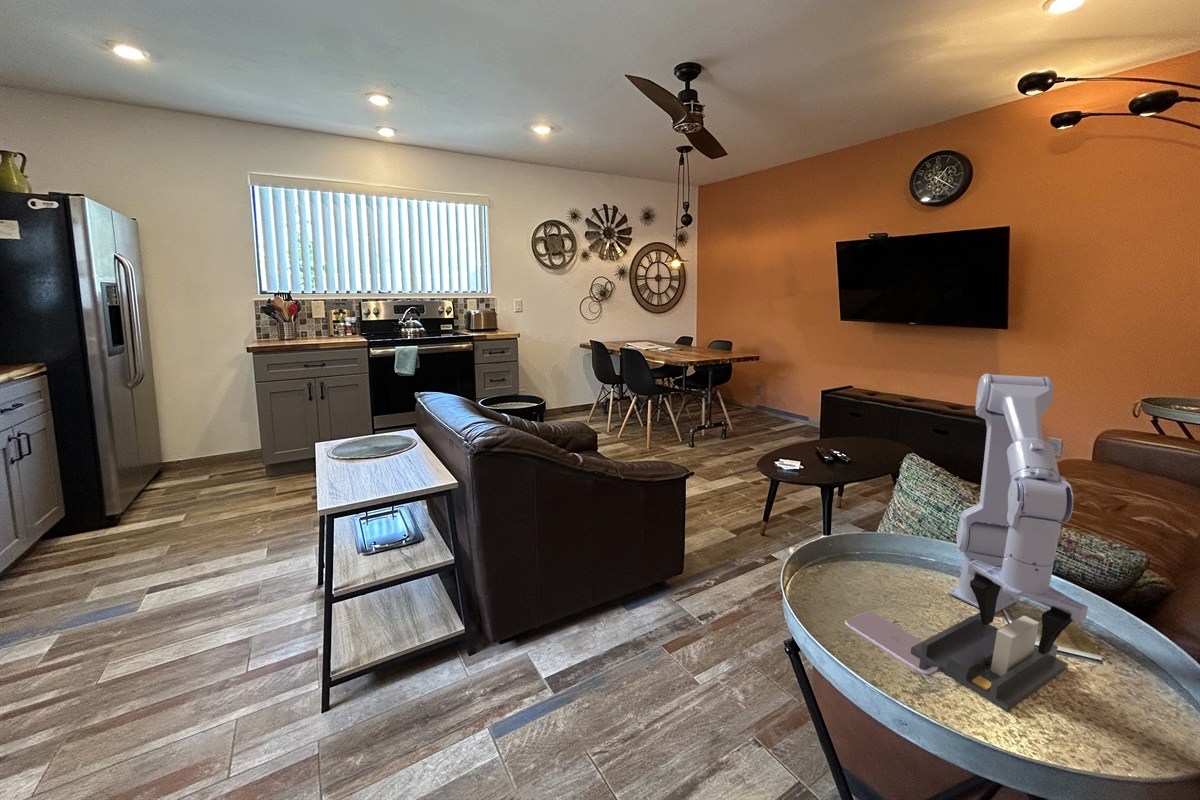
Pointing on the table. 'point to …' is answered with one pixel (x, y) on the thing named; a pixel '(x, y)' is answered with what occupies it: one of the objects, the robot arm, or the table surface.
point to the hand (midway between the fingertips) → (1014, 636)
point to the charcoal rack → (987, 663)
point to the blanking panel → (1014, 644)
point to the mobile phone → (890, 640)
